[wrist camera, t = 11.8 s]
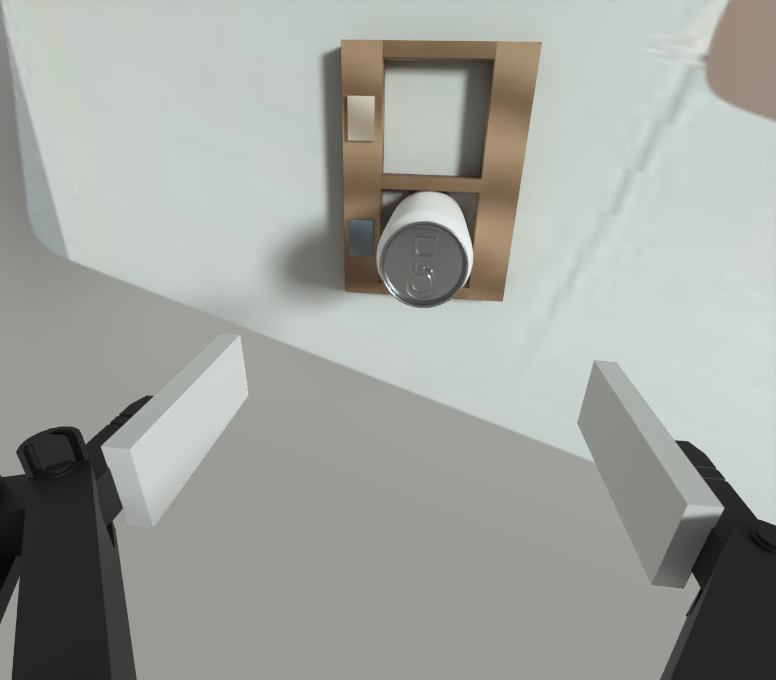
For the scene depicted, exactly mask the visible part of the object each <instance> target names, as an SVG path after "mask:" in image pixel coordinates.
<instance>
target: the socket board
mask: <svg viewBox="0 0 776 680" xmlns="http://www.w3.org/2000/svg"><path fill="white" fill-rule="evenodd" d="M541 44H542V42H491V41H408V40H341V77H342V133H343V188H344V243H345V292H358V293H374V294H390V295H392V294H391V293H390V292H389V291H388V290H387V288H386V287H385V285H384V283H383V281H382V279H381V277H380V275H379V272H378V268H377V260H376V257H377V248H378V244H379V241H380V238H381V236H382V210H383V189H400V190H424V191H448V192H472V193H478V196H477V205H476V214H475V223H474V232H473V241H472V249H473V264H472V269H471V272H470V275H469V277H468V281H466V283H465V284H464V286H463V287H462V288H461V289H460V291H459V292H458V293H457V294H456V295H455V296H454V297H453V298H454V299H470V300H486V301H502V302H503V295H504V289H505V282H506V275H507V269H508V262H509V256H510V249H511V242H512V236H513V229H514V223H515V216H516V209H517V203H518V196H519V190H520V183H521V176H522V170H523V163H524V157H525V150H526V143H527V137H528V130H529V124H530V117H531V110H532V104H533V97H534V91H535V84H536V77H537V71H538V64H539V58H540V51H541ZM385 61H434V62H492V71H491V80H490V89H489V98H488V107H487V116H486V125H485V134H484V143H483V152H482V161H481V170H480V177H470V176H444V175H418V174H392V173H383V159H384V109H385Z"/></svg>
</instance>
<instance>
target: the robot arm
mask: <svg viewBox="0 0 776 680" xmlns="http://www.w3.org/2000/svg"><path fill="white" fill-rule="evenodd" d="M247 396H248V388H247V381H246V374H245V367H244V359H243V352H242V345H241V338H240V335H237V334H222V333H221V334H220V335H219V336H218V337H217V338H216V339H214V340H213V341H212V342H211V343H210V344H209V345H208V346H207V347H206V348H205V349H204V350H203V351H202V352H201V353H200V354H199V355H197V356H196V357H195V358H194V359H193V360H192V361H191V362H190V363H189V364H188V365H187V366H186V367H185V368H184V369H183V370H181V371H180V372H179V373H178V374H177V375H176V376H175V377H174V378H173V379H172V380H171V381H170V382H169V383H168V384H167V385H166V386H164V387H163V388H162V389H161V390H160V391H159V392H158V393H157V394H156V395H155V396H145V397H143V398H141V399H140V400H138V401H136V402H134V403H132V404H130V405H129V406H128V407H127V408H126V409H125V410H124V411H123V412H121V413H120V415H119V416H117V417H116V418H115V419H114V420H112V421H111V422H110V425H107V426H106V427H105V428H104V429H102V431H100V432H99V433H98V434H97V435H96V436H95V437H93V439H91V440H90V441H89V442H88V443H87V444H86V445H85V442H84V440H83V437H82V434H81V432H80V431H79V429H77V428H74V427H57V428H51V429H48V430H46V431H43V432H40V433H37V434H36V435H34V436H32V437H30V438H28V439H27V440H26V441H24V442H23V443H22V444H21V445H20V446H19V448H18V450H17V452H16V453H17V455H18V457H19V460H20V462H21V464H22V467H23V469H24V471H25V473H26V474H23V475H16V476H8V477H1V475H0V623H1V620H2V618H3V615H4V613H5V611H6V608H7V606H8V603H9V601H10V598H11V596H12V593H13V591H14V588H15V586H16V583H17V581H18V579H19V576H20V582H19V594H18V607H17V619H16V631H15V632H16V633H15V644H14V657H13V669H12V680H137V679H136V671H135V664H134V658H133V650H132V643H131V636H130V629H129V622H128V615H127V608H126V601H125V594H124V586H123V580H122V573H121V566H120V558H119V551H118V544H117V537H116V530H115V527H114V524H113V520H114V518H115V517H116V516H117V515H118V514H119V512H120V511H121V510H123V513H124V516H125V519H126V522H127V525H134V526H143V527H151V528H154V526H155V525H156V523H157V522H158V521H159V519H160V518H161V516H162V515H163V514H164V512H165V511H166V509H167V508H168V507H169V505H170V504H171V503H172V501H173V500H174V498H175V497H176V496H177V494H178V493H179V491H180V490H181V489H182V487H183V486H184V484H185V483H186V482H187V480H188V479H189V477H190V476H191V475H192V473H193V472H194V470H195V469H196V468H197V466H198V465H199V463H200V462H201V461H202V459H203V458H204V456H205V455H206V453H207V452H208V451H209V449H210V448H211V446H212V445H213V444H214V443H215V441H216V440H217V438H218V437H219V435H220V434H221V433H222V431H223V429H225V427H226V426H227V424H228V423H229V422H230V420H231V419H232V417H233V416H234V415H235V413H236V412H237V410H238V409H239V407H240V406H241V405H242V403H243V402H244V401H245V399H246V398H247ZM577 424H578V426H579V428H580V430H581V432H582V435H583V437H584V439H585V441H586V443H587V445H588V448H589V450H590V452H591V454H592V456H593V459H594V461H595V463H596V465H597V467H598V469H599V472H600V474H601V476H602V478H603V480H604V483H605V484H606V487H607V489H608V491H609V493H610V496H611V498H612V500H613V502H614V504H615V507H616V508H617V511H618V513H619V515H620V517H621V520H622V522H623V524H624V526H625V528H626V530H627V533H628V535H629V537H630V539H631V541H632V544H633V546H634V548H635V550H636V552H637V554H638V557H639V559H640V561H641V563H642V566H643V568H644V570H645V572H646V574H647V576H648V579H649V581H650V583H651V585H658V586H667V587H675V588H684V587H685V585H686V583H687V581H688V579H689V577H690V575H691V573H693V574H694V576H695V578H696V580H697V582H698V583H699V585H700V587H701V588H700V590H699V592H698V594H697V596H696V598H695V600H694V602H693V603H692V605H691V607H690V609H689V611H688V613H687V615H686V616H687V619H686V621H685V624H684V626H683V628H682V630H681V633H680V635H679V637H678V640H677V642H676V644H675V647H674V649H673V651H672V653H671V656H670V658H669V661H668V663H667V665H666V667H665V670H664V672H663V674H662V677H661V679H660V680H776V526H775V525H773V524H770V523H767V522H765V521H762V520H758V519H757V518H756V517H755V515H754V514H753V513H752V512H751V510H750V509H749V508H748V507H747V505H746V504H745V503H744V502H743V500H742V499H741V498H740V497H739V495H738V494H737V493H736V492H735V490H734V489H733V488H732V487H731V485H730V484H729V483H728V482H726V481H725V478H724V477H723V476H722V474H721V473H720V472H719V471H718V470H716V467H715V466H714V464H713V463H712V462H711V461H710V459H709V458H708V457H707V456H706V454H704V453H703V452H702V451H700V450H699V449H698V448H696V447H695V446H694V445H692V444H691V443H690V442H688V441H676V440H674V439H673V438H672V436H671V435H670V434H669V432H668V431H667V430H666V428H665V427H664V426H663V424H662V423H661V422H660V420H659V419H658V418H657V416H656V415H655V414H654V412H653V411H652V410H651V408H650V407H649V405H648V404H647V403H646V401H645V400H644V399H643V397H642V396H641V395H640V393H639V392H638V391H637V389H636V388H635V387H634V385H633V384H632V383H631V381H630V380H629V379H628V377H627V376H626V374H625V373H624V372H623V370H622V369H621V368H620V366H619V365H618V364H617V362H607V361H594V363H593V367H592V370H591V374H590V378H589V382H588V385H587V389H586V393H585V396H584V400H583V404H582V408H581V411H580V415H579V419H578V422H577Z"/></svg>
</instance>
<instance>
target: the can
mask: <svg viewBox="0 0 776 680" xmlns="http://www.w3.org/2000/svg"><path fill="white" fill-rule="evenodd" d="M376 260H377V268H378V272H379V275H380V277H381V279H382V281H383V283H384V285H385V287H386V288H387V290H388V291H389V292H390V293H391V294H392V295H393V296H394V297H395V298H396V299H397V300H399V301H400V302H402V303H404V304H406V305H409V306H413V307H418V308H430V307H435V306H438V305H441V304H443V303H445V302H447V301H449V300H450V299H451V298H453V297H454V296H455V295H456V294H457V293H458V292H459V291H460V289H461V288H462V287H463V286H464V284H465V283H466V281H467V279H468V277H469V275H470V272H471V269H472V264H473V249H472V243H471V239H470V236H469V232H468V229H467V225H466V222H465V219H464V216H463V213H462V211H461V209H460V207H459V206H458V204H457V203H456V202H455V201H454V200H453V199H452V198H451V197H450V196H448V195H446V194H445V193H442V192H440V191H424V190H421V191H417V192H415V193H412V194H410V195H409V196H407V197H406V198H404V199H403V200H402V201H401V202H400V203H399V205H398V206H397V207H396V209H395V211H394V212H393V214H392V216H391V218H390V220H389V222H388V224H387V226H386V228H385V230H384V232H383V234H382V236H381V238H380V241H379V244H378V248H377V257H376Z"/></svg>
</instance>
